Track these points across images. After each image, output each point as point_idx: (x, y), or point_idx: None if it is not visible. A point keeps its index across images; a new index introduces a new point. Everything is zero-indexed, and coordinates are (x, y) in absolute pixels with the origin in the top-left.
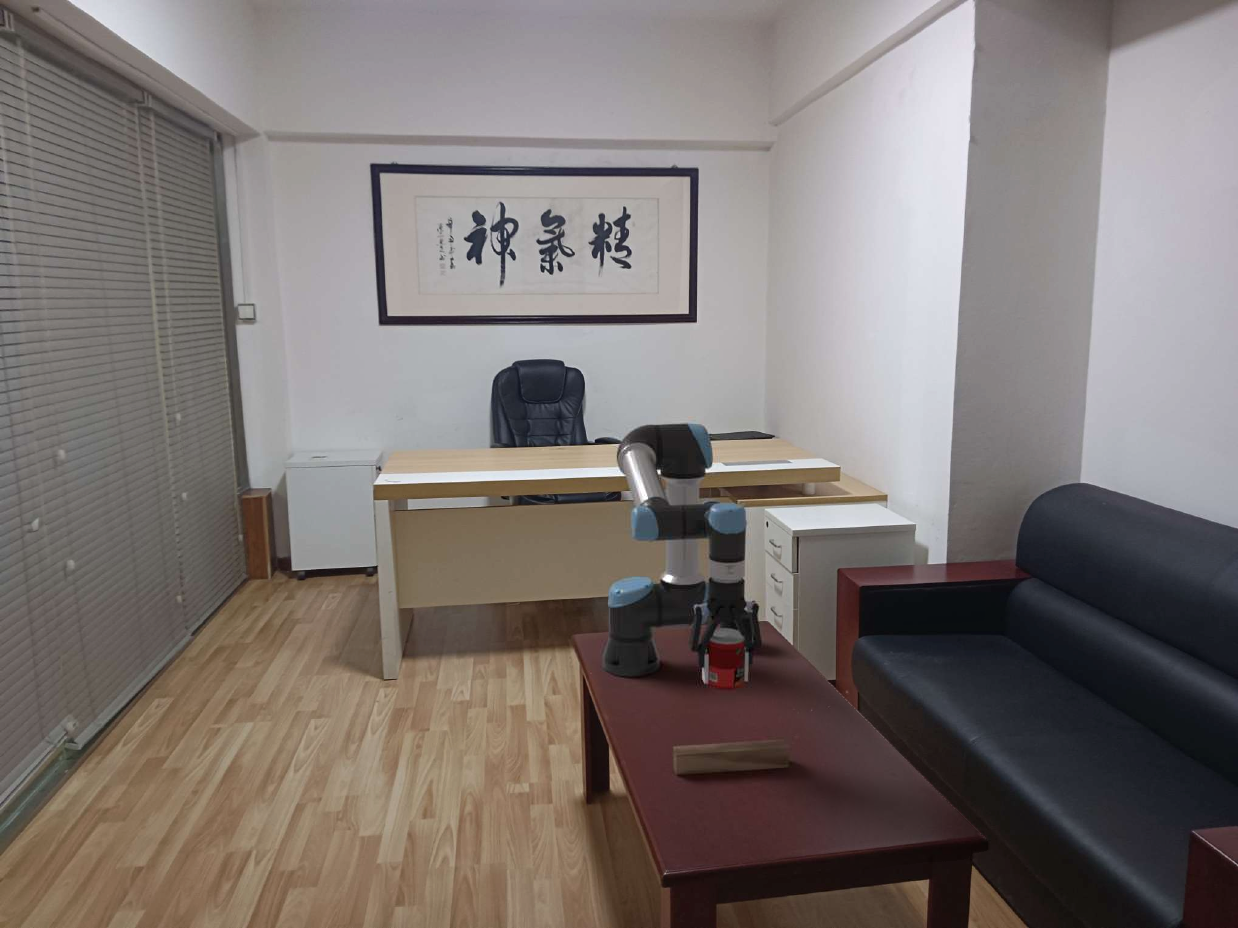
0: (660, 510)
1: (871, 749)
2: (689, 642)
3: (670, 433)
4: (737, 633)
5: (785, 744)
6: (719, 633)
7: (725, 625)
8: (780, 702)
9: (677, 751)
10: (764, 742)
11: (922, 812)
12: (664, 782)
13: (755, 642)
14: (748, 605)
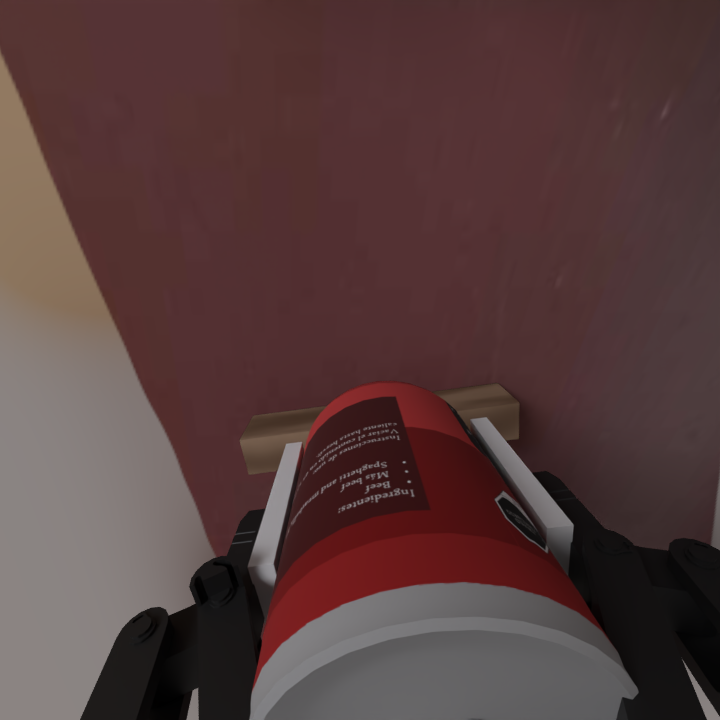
0: None
1: (705, 342)
2: (108, 656)
3: None
4: (584, 698)
5: (513, 426)
6: (388, 686)
7: None
8: (591, 46)
9: (251, 461)
10: (465, 418)
11: (670, 538)
12: (239, 470)
13: (681, 623)
14: None
